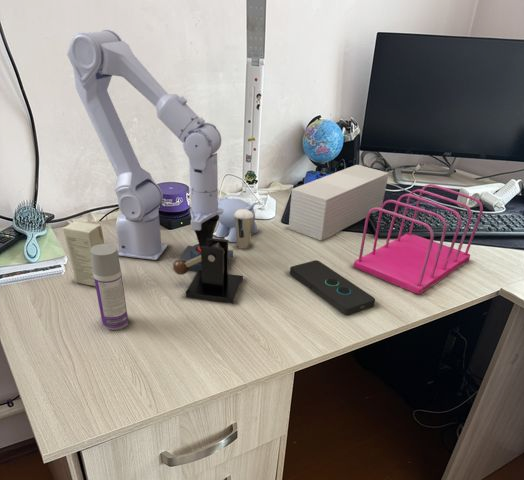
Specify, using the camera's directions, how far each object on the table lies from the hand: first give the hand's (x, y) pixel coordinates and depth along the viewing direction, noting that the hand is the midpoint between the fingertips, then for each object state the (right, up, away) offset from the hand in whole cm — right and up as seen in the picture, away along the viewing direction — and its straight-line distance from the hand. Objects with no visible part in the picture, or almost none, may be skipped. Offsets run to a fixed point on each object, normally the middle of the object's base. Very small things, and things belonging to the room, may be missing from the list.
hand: (205, 248), depth 109 cm
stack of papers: (+34, +14, +28) cm, 46 cm away
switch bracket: (+3, -10, -7) cm, 13 cm away
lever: (0, -6, -10) cm, 11 cm away
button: (0, -1, +1) cm, 2 cm away
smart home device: (+28, -10, -5) cm, 30 cm away
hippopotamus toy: (+5, +8, +17) cm, 19 cm away
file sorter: (+49, -3, +7) cm, 50 cm away
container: (-15, -18, -19) cm, 30 cm away
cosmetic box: (-23, -9, -7) cm, 26 cm away
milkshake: (+8, +2, +10) cm, 14 cm away
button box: (0, -3, +2) cm, 4 cm away
